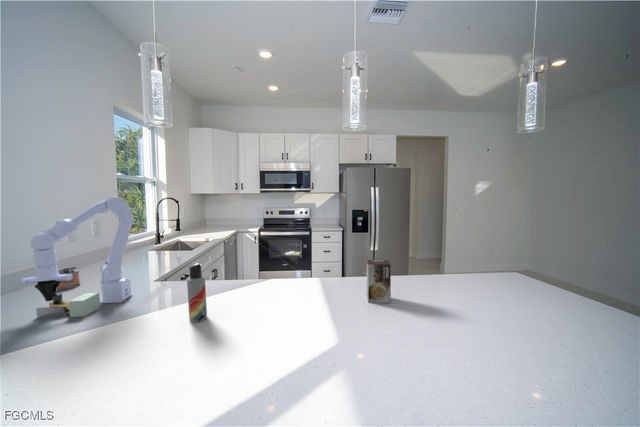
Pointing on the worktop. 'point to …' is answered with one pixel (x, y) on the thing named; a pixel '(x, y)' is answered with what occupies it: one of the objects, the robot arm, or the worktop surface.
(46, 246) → the robot arm
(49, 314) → the grey u channel
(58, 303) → the sliding bolt
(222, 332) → the worktop surface
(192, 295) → the lotion bottle
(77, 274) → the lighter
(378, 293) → the coffee box
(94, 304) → the socket
